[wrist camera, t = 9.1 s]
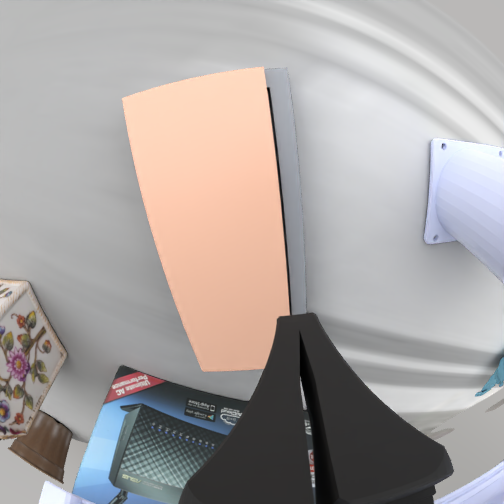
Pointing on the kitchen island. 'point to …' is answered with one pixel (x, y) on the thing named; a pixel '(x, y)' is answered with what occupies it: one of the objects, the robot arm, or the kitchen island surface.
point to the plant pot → (44, 446)
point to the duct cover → (215, 210)
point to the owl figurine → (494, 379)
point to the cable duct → (288, 184)
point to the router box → (155, 440)
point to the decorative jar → (24, 357)
